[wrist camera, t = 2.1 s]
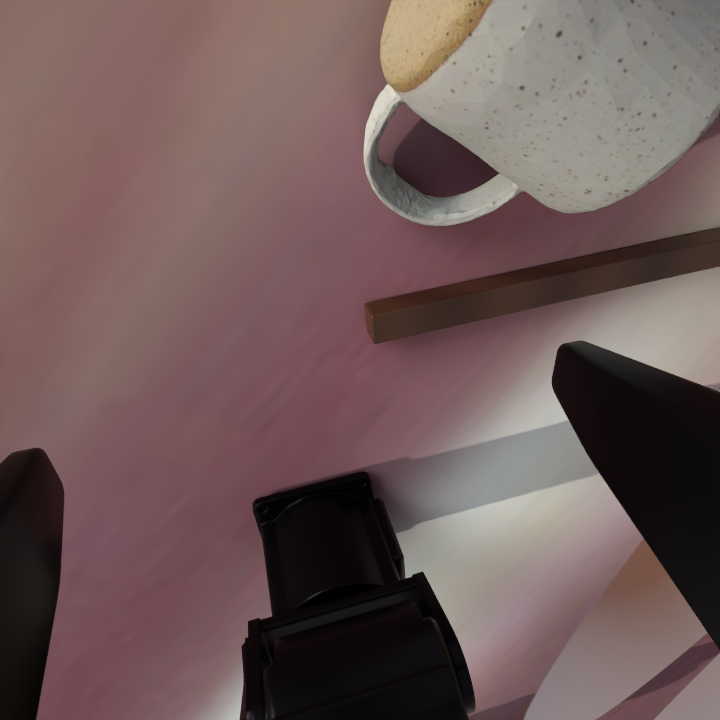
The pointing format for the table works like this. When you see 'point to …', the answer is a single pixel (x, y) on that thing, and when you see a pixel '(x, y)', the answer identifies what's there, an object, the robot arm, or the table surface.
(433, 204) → the ceramic mug
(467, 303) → the brown wooden flat frame
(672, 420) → the robot arm
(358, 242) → the table surface
